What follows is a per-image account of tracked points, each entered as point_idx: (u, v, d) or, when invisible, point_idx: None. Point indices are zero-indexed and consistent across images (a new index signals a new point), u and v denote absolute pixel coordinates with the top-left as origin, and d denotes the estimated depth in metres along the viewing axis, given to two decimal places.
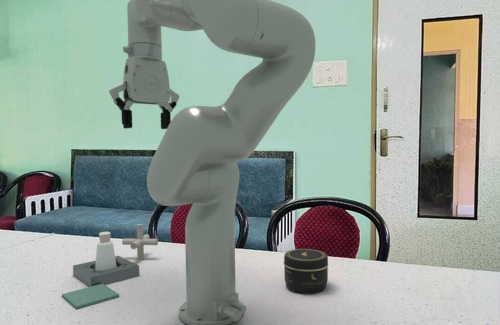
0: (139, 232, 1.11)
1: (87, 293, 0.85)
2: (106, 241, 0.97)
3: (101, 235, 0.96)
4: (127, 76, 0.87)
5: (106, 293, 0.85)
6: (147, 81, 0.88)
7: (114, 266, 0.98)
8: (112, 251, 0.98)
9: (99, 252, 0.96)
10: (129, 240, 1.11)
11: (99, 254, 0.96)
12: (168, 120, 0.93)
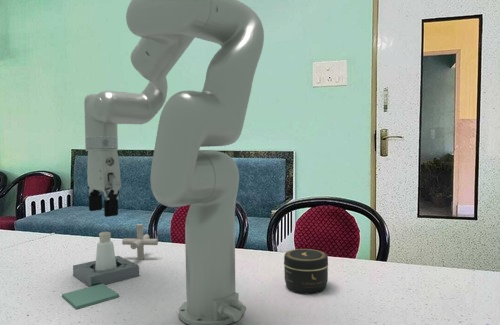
0: (139, 232, 1.11)
1: (87, 293, 0.85)
2: (106, 241, 0.97)
3: (101, 235, 0.96)
4: (113, 168, 0.94)
5: (106, 293, 0.85)
6: None
7: (114, 266, 0.98)
8: (112, 251, 0.98)
9: (99, 252, 0.96)
10: (129, 240, 1.11)
11: (99, 254, 0.96)
12: None
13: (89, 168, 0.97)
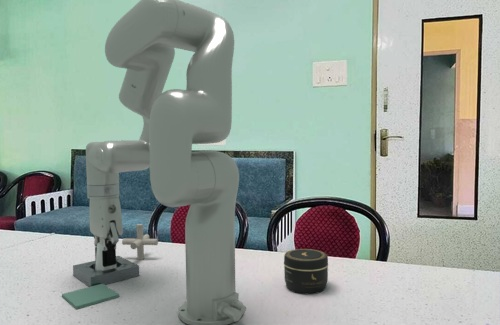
0: (139, 232, 1.11)
1: (87, 293, 0.85)
2: None
3: None
4: (115, 215, 0.94)
5: (106, 293, 0.85)
6: None
7: (114, 266, 0.98)
8: None
9: (99, 252, 0.96)
10: (129, 240, 1.11)
11: (99, 254, 0.96)
12: None
13: (91, 214, 0.97)
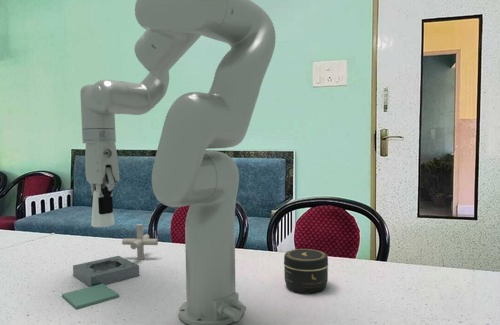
0: (139, 232, 1.11)
1: (87, 293, 0.85)
2: None
3: None
4: (111, 160, 0.91)
5: (106, 293, 0.85)
6: None
7: (111, 215, 0.94)
8: None
9: (95, 199, 0.93)
10: (129, 240, 1.11)
11: (95, 202, 0.93)
12: None
13: (87, 161, 0.94)
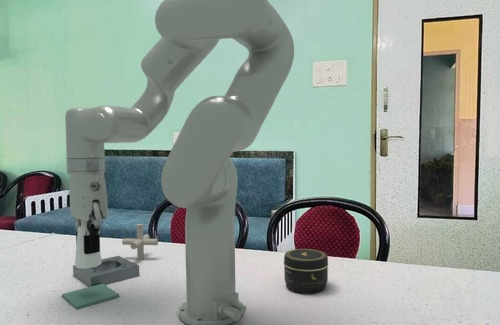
0: (139, 232, 1.11)
1: (87, 293, 0.85)
2: None
3: None
4: (99, 194, 0.80)
5: (106, 293, 0.85)
6: None
7: (98, 254, 0.84)
8: None
9: (80, 237, 0.82)
10: (129, 240, 1.11)
11: (80, 240, 0.82)
12: None
13: (71, 193, 0.83)
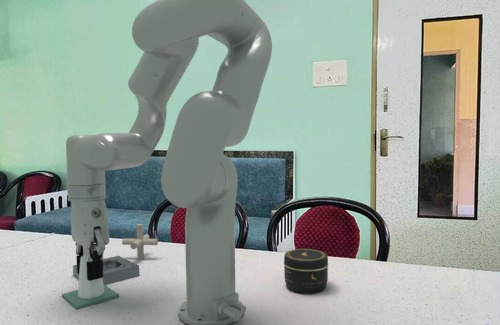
0: (139, 232, 1.11)
1: None
2: None
3: (85, 247, 0.83)
4: (100, 220, 0.81)
5: (106, 293, 0.85)
6: None
7: (100, 283, 0.84)
8: None
9: (83, 267, 0.82)
10: (129, 240, 1.11)
11: (83, 270, 0.82)
12: None
13: (73, 219, 0.84)
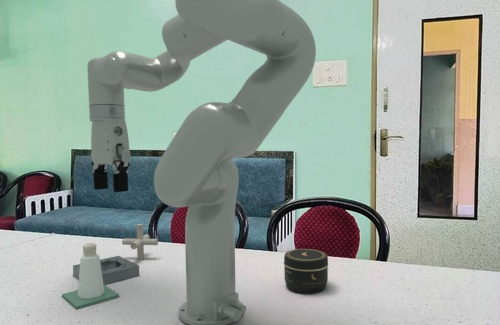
0: (139, 232, 1.11)
1: None
2: (91, 254, 0.83)
3: (85, 247, 0.83)
4: (122, 138, 0.85)
5: (106, 293, 0.85)
6: None
7: (100, 283, 0.84)
8: (98, 266, 0.84)
9: (83, 267, 0.82)
10: (129, 240, 1.11)
11: (83, 270, 0.82)
12: None
13: (94, 141, 0.88)
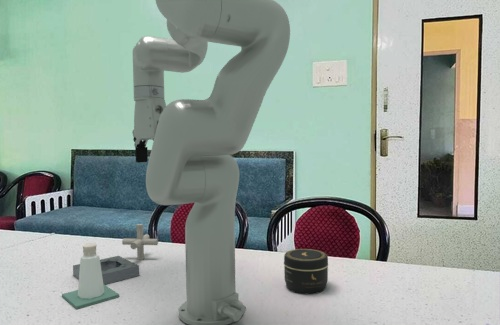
0: (139, 232, 1.11)
1: None
2: (91, 254, 0.83)
3: (85, 247, 0.83)
4: None
5: (106, 293, 0.85)
6: None
7: (100, 283, 0.84)
8: (98, 266, 0.84)
9: (83, 267, 0.82)
10: (129, 240, 1.11)
11: (83, 270, 0.82)
12: None
13: (137, 118, 0.98)
